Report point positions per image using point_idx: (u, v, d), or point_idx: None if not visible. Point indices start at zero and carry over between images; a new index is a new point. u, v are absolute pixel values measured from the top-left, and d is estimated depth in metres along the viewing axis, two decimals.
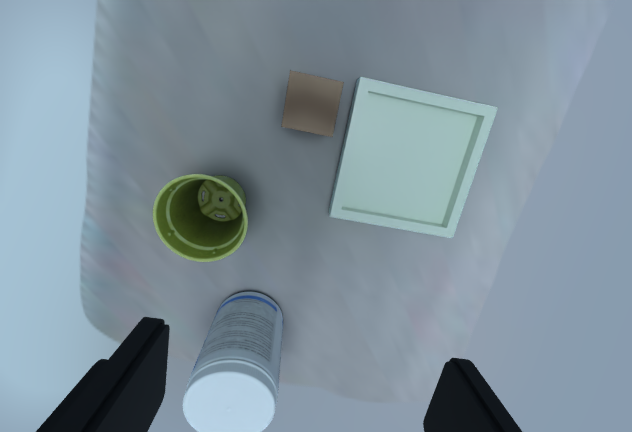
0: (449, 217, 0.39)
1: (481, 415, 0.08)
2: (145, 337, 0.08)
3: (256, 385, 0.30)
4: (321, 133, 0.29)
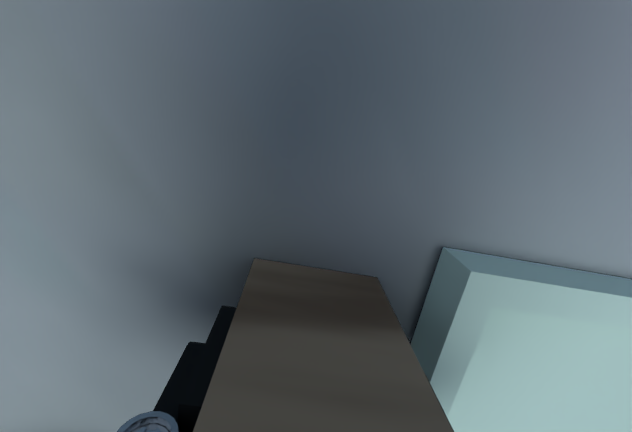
0: None
1: None
2: (229, 322, 0.09)
3: None
4: None
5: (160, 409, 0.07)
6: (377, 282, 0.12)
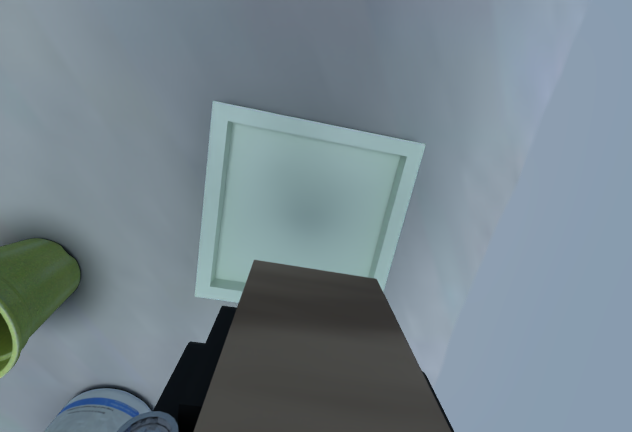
0: None
1: None
2: (229, 322, 0.09)
3: None
4: None
5: (160, 409, 0.07)
6: (377, 283, 0.12)
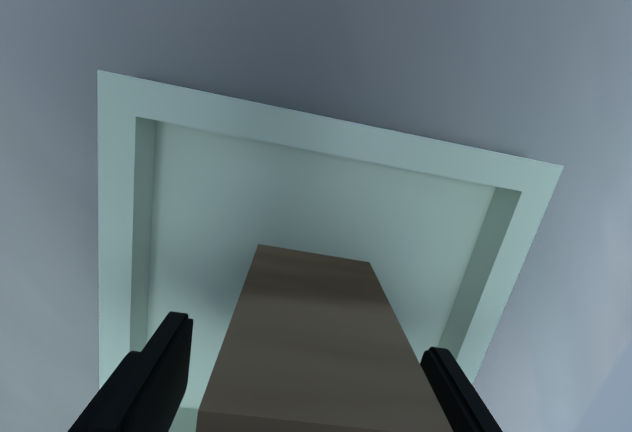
0: None
1: (453, 399, 0.08)
2: (173, 330, 0.09)
3: None
4: None
5: (76, 430, 0.06)
6: (369, 266, 0.13)
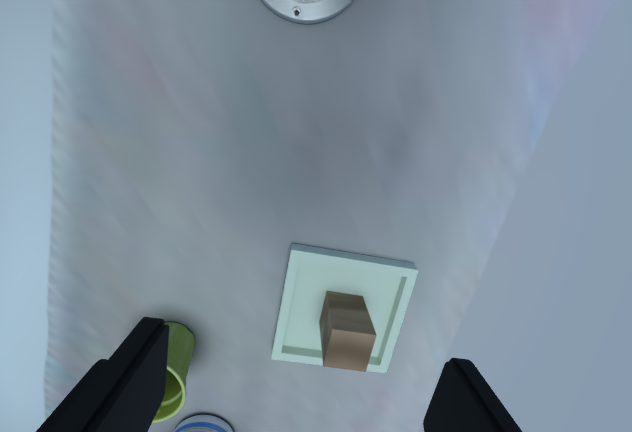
0: (382, 356, 0.42)
1: (481, 415, 0.08)
2: (145, 337, 0.08)
3: None
4: (356, 369, 0.35)
5: None
6: (362, 297, 0.41)
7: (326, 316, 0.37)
